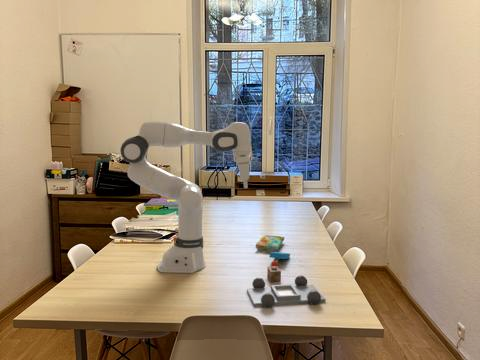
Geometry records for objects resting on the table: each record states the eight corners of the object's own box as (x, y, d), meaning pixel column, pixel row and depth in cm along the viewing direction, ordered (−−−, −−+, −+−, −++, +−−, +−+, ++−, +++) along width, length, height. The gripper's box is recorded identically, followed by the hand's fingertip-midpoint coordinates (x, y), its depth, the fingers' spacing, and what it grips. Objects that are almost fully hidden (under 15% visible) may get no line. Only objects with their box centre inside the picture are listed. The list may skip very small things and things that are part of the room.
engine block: (270, 282, 181) (270, 269, 180) (267, 277, 187) (267, 265, 186) (280, 282, 182) (281, 269, 181) (277, 277, 188) (277, 264, 187)
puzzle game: (255, 243, 223) (264, 233, 243) (255, 251, 224) (264, 241, 243) (277, 245, 220) (284, 235, 239) (277, 253, 221) (284, 243, 240)
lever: (275, 265, 216) (266, 267, 199) (276, 252, 217) (267, 252, 200) (288, 267, 214) (280, 269, 197) (290, 253, 215) (282, 254, 198)
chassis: (254, 308, 156) (255, 295, 155) (246, 289, 173) (246, 278, 172) (327, 303, 161) (327, 291, 160) (311, 286, 178) (312, 274, 177)
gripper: (236, 155, 206) (239, 182, 208) (235, 160, 185) (239, 191, 188) (249, 153, 205) (251, 181, 208) (250, 158, 185) (253, 189, 188)
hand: (245, 186), depth 198 cm, fingers open, 8 cm apart
